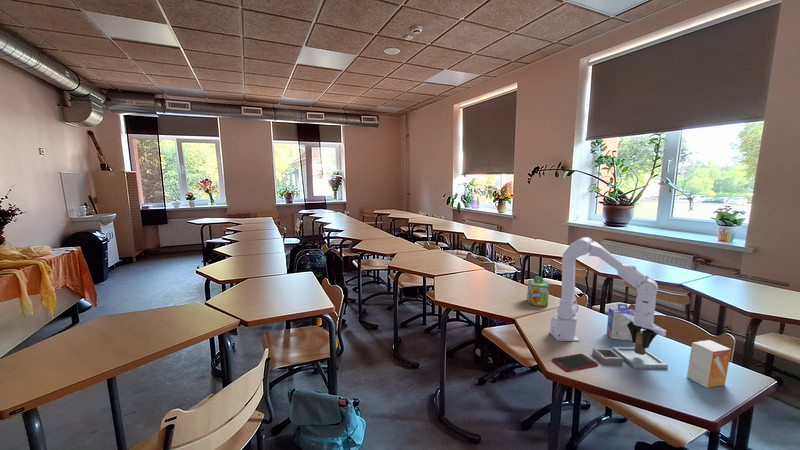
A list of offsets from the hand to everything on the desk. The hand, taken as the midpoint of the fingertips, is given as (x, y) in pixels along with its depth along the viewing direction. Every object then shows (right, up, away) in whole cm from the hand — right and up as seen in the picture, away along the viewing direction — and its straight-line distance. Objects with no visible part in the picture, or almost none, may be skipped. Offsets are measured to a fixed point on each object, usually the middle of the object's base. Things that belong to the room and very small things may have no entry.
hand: (640, 345), depth 118 cm
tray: (0, -6, +1) cm, 6 cm away
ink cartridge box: (+5, -4, +18) cm, 19 cm away
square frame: (-12, -6, +1) cm, 13 cm away
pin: (0, -3, 0) cm, 3 cm away
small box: (+13, -8, -12) cm, 19 cm away
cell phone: (-26, -6, -2) cm, 27 cm away
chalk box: (-15, +2, +55) cm, 57 cm away
